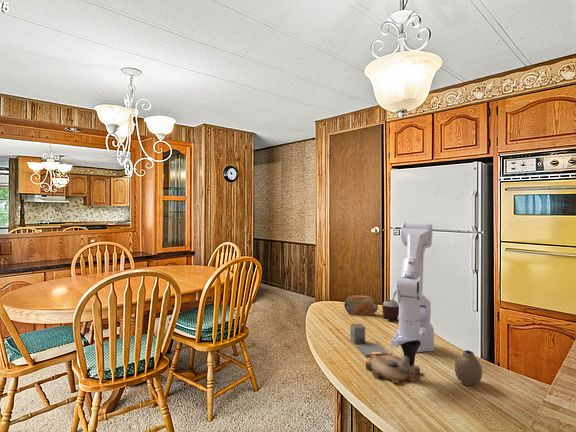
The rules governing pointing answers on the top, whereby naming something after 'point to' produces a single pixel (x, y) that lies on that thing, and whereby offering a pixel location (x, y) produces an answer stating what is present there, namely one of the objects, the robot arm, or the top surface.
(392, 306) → the mate gourd
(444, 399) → the top surface
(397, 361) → the sprocket wheel
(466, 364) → the vase
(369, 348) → the mat
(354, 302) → the tin
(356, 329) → the link block
